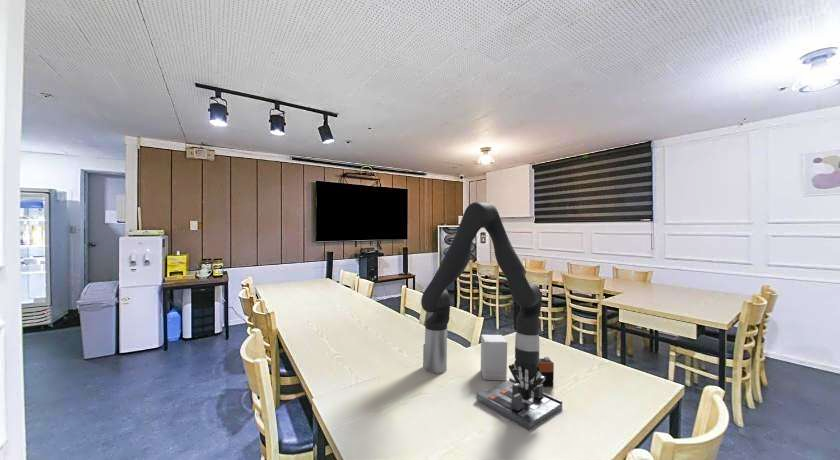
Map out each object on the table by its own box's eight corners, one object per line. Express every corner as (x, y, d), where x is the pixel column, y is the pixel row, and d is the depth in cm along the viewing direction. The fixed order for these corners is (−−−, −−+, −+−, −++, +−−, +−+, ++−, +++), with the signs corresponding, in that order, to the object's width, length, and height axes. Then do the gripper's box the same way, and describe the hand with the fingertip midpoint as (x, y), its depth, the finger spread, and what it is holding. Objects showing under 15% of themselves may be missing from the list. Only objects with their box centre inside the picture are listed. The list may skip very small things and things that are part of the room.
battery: (553, 387, 118) (554, 360, 118) (536, 387, 117) (536, 360, 117) (548, 381, 122) (548, 355, 122) (531, 382, 122) (531, 356, 122)
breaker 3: (533, 396, 106) (533, 383, 106) (537, 393, 108) (537, 381, 108) (538, 398, 105) (539, 386, 105) (543, 396, 106) (543, 383, 106)
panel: (476, 400, 107) (476, 393, 107) (510, 384, 119) (510, 377, 119) (528, 431, 91) (528, 422, 92) (562, 409, 103) (562, 401, 103)
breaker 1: (512, 396, 106) (512, 383, 106) (516, 394, 107) (516, 381, 107) (517, 399, 104) (517, 386, 104) (521, 396, 106) (522, 384, 106)
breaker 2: (511, 408, 99) (511, 394, 99) (516, 405, 100) (516, 392, 100) (517, 411, 97) (517, 397, 97) (522, 408, 99) (522, 394, 99)
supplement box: (507, 381, 122) (507, 342, 122) (483, 380, 122) (484, 341, 122) (502, 370, 131) (502, 334, 131) (480, 370, 131) (480, 333, 131)
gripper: (503, 342, 106) (502, 394, 106) (539, 355, 95) (538, 412, 95) (516, 338, 110) (515, 387, 110) (552, 349, 100) (551, 404, 100)
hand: (526, 399), depth 103 cm, fingers closed
